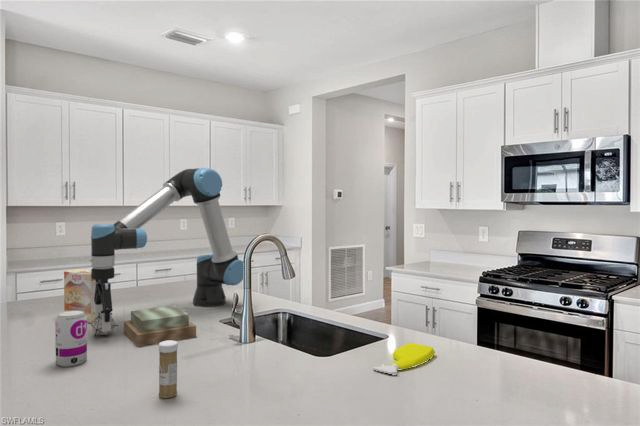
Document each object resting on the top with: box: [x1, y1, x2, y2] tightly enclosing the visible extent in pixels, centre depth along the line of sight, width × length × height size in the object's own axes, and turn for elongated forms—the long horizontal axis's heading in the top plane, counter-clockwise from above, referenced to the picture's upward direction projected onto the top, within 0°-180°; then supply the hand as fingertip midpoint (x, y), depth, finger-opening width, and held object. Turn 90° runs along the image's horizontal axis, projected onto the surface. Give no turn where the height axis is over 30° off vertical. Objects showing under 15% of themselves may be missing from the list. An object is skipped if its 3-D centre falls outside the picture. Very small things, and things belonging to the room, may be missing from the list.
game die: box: [87, 312, 119, 338], centre depth 165 cm, size 9×8×10 cm
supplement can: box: [54, 310, 88, 368], centre depth 138 cm, size 8×8×15 cm
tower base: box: [123, 305, 197, 348], centre depth 167 cm, size 20×20×8 cm
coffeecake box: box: [63, 268, 97, 323], centre depth 188 cm, size 15×7×20 cm, turn 68°
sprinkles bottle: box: [158, 340, 179, 399], centre depth 116 cm, size 5×5×13 cm
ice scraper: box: [372, 342, 436, 375], centre depth 141 cm, size 3×11×25 cm
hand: (102, 326), depth 165 cm, fingers open, 13 cm apart
